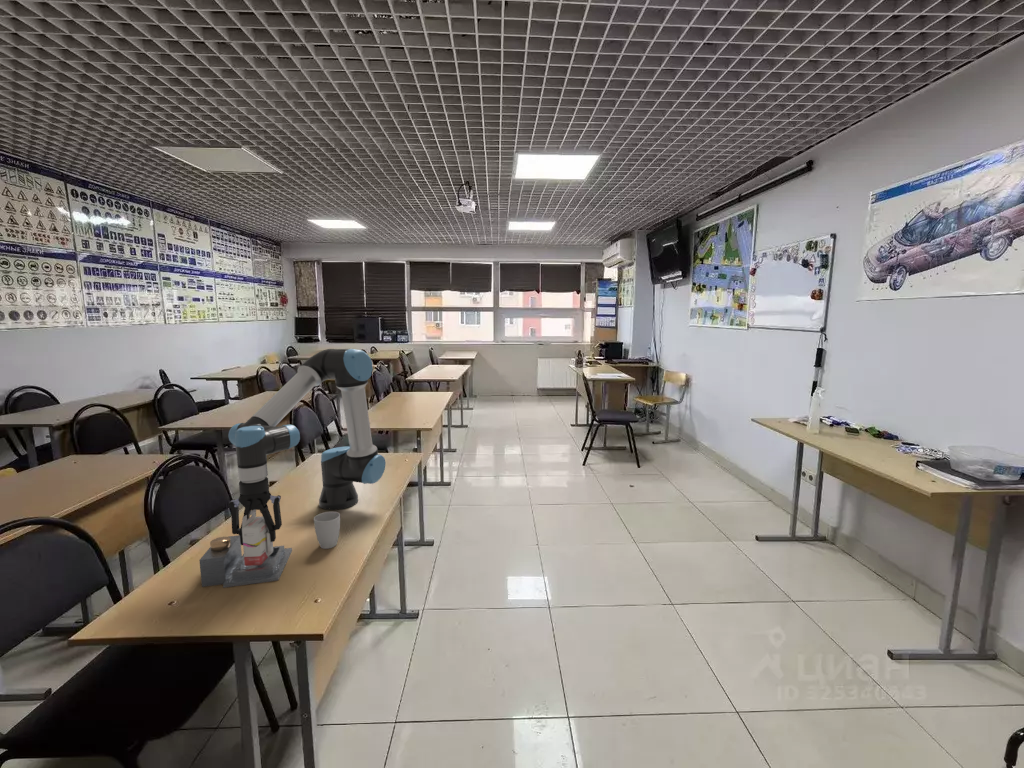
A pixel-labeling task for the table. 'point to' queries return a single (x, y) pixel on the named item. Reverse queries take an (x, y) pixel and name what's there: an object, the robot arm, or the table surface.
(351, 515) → the table surface
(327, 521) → the cup
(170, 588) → the table surface
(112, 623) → the table surface
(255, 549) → the ink cartridge box
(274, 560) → the grey stepped base
